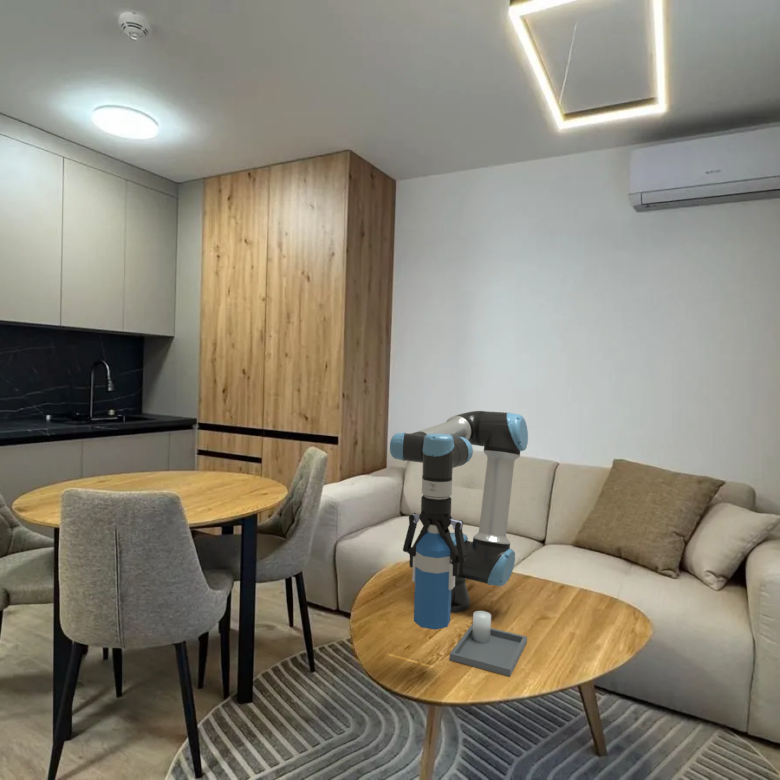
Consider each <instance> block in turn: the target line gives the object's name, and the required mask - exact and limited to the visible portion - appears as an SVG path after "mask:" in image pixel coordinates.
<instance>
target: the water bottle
mask: <svg viewBox="0 0 780 780" xmlns="http://www.w3.org/2000/svg"><path fill="white" fill-rule="evenodd" d="M451 562H452V560H451V557H450V549H449V547H448V546H447V544H446V543H445V541H444V540H443V538H441V535H440V533H439V531H438V529H437V527H436V525H433V524H430V525H429V527H428V529H427V532H426V533H425V534H424V536H423V537H422V538H421V540H420V541H419V542H418V544H417V545H416V569H415V582H414V598H413V599H414V602H413V604H414V605H413V609H414V610H413V622H414V623H415V624H417V626H419V627H420V628H423V629H429V630H434V631H435V630H441V629H445V628H448V626H449V625H450V623H451V614H452V613H451V590H448V587H449V563H451Z"/></svg>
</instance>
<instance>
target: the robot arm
mask: <svg viewBox="0 0 780 780" xmlns="http://www.w3.org/2000/svg"><path fill="white" fill-rule="evenodd" d="M528 430H529V429H528V426H527V421H526V420H525V418H524V416H523V415H522V414H518V413H512V412H504V411H503V412H501V411H485V410H474V411H473V410H472V411H468V412H464V413H459V414H457V415H456V414H455V415H453V416H450V417H449V418H448V419H447V420H446V421H445V422H442V423H439V424H436V425H433V426H430V427H427V428H424V429H422V430H418V431H415V432H412V433H406V432H395V434H393V435H392V437H391V439H390V442H389V453H390V455H391V457H392V458H393V459H395V460H398V461H399V460H400V461H403V462H405V461H406V462H414V463H422V476H421V495H422V496H421V500H420V503H421V504H420V510H421V511H420V514H419V513H418V514H417V513H416V512H413V513H412V514H410V515H409V516H408V527H407V532H406V535H405V538H404V543H403V547H402V551H403V552H404V553H407V554H409V568H412V578H411V582H412V583H415V569H416V545H417V544H418V542H419V541H420V540H421V538H422V537H423V536H424V534H425V533H426V532H427V529H428V527H429V525H430V524H433V525H436V527H437V529H438V531H439V533H440V535H441V538H443V540H444V541H445V543H446V544H447V546H448V547H449V549H450V557H451V560H452V562H451V563H449V587H448V590H451V613H450V614H456V613H461V612H465V611H467V610H469V608H470V606H471V598H470V596H469V591H468V587H467V585H466V580H470V581H474V582H479V583H483V584H486V585H488V586H497V587H503V586H505V585H506V584H507V583H508V582H509V581H510V578H511V576H512V573H513V570H514V567H515V562H516V553H515V551H514V549H513V548H511V542H510V540H509V539H508V537H507V530H508V521H509V515H510V514H509V512H510V503H511V497H512V495H511V494H512V484H513V476H514V467H515V462H516V460H517V459H519V458H520V456H521V452H524V451H526V449H527V446H528V442H529V434H528V433H529V432H528ZM473 446H480V447H483V453H484V454H485V456H486V457H487V460H486V468H485V476H484V483H483V484H484V485H483V486H484V487H483V493H482V500H481V501H482V502H481V510H480V511H481V512H480V518H479V519H480V520H479V527H478V532H477V533H476V534H474V535H473V537H472V541H470V540H469V538H468V535H467V534H465V533H463V527H464V522H463V520H461V519H460V520H455V519H453V517H452V515H451V513H452V497H451V496H452V495H453V494H452V493H453V491H452V490H453V471H454V470H453V469H454V468H457V467H461V466H463V465H465V464H466V463H468V462H469V461H470V460H471V459H472V458H473V454H474V448H473ZM419 521H420V522H421V524H422V528H421V529H420V531H419V534H418V536H417V538H416V540H415V541H414V543H413V540H414V539H415V538H414V537H415V534H416V529H417V527H418V523H419ZM450 526H452V529H453V530H454V532H451V531H450V529H449V527H450Z"/></svg>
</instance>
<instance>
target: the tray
mask: <svg viewBox="0 0 780 780" xmlns="http://www.w3.org/2000/svg"><path fill="white" fill-rule="evenodd" d="M472 632H473V623H471V625H470V626H469V627H468V629H467V630H466V631H465V633H464V634H463V636H462V637H461V638H460V639H459V640H458V642H457V644H456V645H455V646H454V647H453V649H452V650H451V651H450V653H449V661H451V662H456V663H459V664H463V665H467V666H469V667H473V668H477V669H481V670H485V671H488V672H492V673H495V674H499V675H502V676H507V677H511V676H512V674H513V672H514V671H515V667H516V665H517V664H518V661H519V659H520V657H521V655H522V653H523V652H524V649H525V647H526V645H527V644H528V643H527V642H528V636H527V635H526V636H525V635H522V634H518V633H513V632H510V631H505V630H501V629H497V628H493V627H491V630H490V641H489V642H488V643H478V642H475V641H474V640H473V639H472Z"/></svg>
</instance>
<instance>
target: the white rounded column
mask: <svg viewBox="0 0 780 780" xmlns="http://www.w3.org/2000/svg"><path fill="white" fill-rule="evenodd" d="M472 616H473V617H472V624H473V632H472V639H473V640H474V641H475V642H478V643H488V642H489V641H490V630H491V628H492V614H491V613H490V612H488V611H485V610H476V611H474V612H473V614H472Z"/></svg>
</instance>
